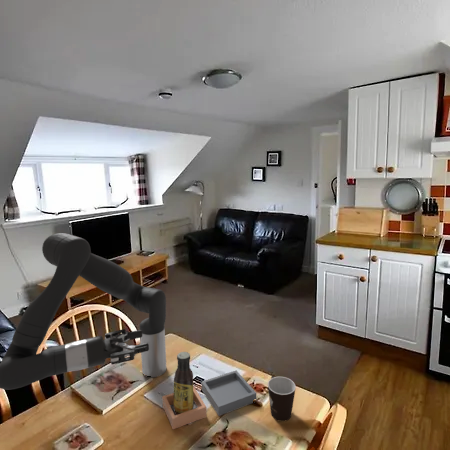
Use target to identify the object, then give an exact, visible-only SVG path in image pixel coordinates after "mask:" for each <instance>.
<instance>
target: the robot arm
mask: <svg viewBox="0 0 450 450" xmlns="http://www.w3.org/2000/svg"><path fill="white" fill-rule="evenodd" d="M91 248H92V247H91V246H90V243H89V242H88V241H87V240H86V239H85V238H82V237H79V236H76V235H74V234H69V233H65V232H64V233H63V232H59V233H53V234H51V235H49V236H48V237H46V238H45V240H44V241H43V243H42V248H41V251H42V254H43V257H44V259H45V260H46V261H47V263H49V264H51V265H52V266H55V267H56V269H55V272H54V274H53V276H52V278H51V280H50V282H49V283H47V284H48V285H47V286H46V287H45V288H44V289H43V290H42V291H41V293H39V294H38V296H36V297H35V298H34V299H33V300H32V301H31V302H30V304H29V305H28V306H27V308H26V309H25V311H24V312H23V314H22V316H21V318H20V320H19V321H18V325H17V326H16V328H15V330H14V333H13V336H12V339H11V342H10V345H9V346H8V348H7V350H6V352H5V354H4V356H3V357H2V359H1V361H0V389H1V390H6V391H8V390H17V389H20V388H23V387H26V386H29V385H32V384H33V383H36V382H39V381H41V380H43V379H47V378H48V377H53V376H57V375H61V374H64V373H69V372H77V371H81V370H85V369H89V368H93V367H98V366H102V365H104V364H105V363H106V360H107V359H110V364H111V365H116V364H122V363H125V362H131V361H134V360H135V356H136V355H137V354H140V355H141V372H143V373H142V374H145V375H147V376H151V377H150V378H157V377H160V376H162V375H163V374H165V373H166V371H167V352H166V349H167V348H166V331H165V325H166V319H167V318H166V317H167V309H166V308H167V299H166V298H167V297H166V293H165V292H164V291H163V290H162V289H159V288H155V287H148V286H143V285H141V284H138V283H136V282H135V281H134V279H133V276H132V275H131V273H130V272H129V271H128V270H127V269H125V268H123V267H122V266H121V265H119V264H117V263H115V262H114V261H112V260H109V259H107V258H104V257H102V256H99V255H96V254H94V253H92V251H91V250H92V249H91ZM79 276H80V277H81V278H82V279H84V280H85V281H86V282H88V283H90V284H91V285H93V286H94V287H96V288H97V289H99V290H100V291H102V292H105V293H107V294H108V295H110V296H113V297H115V298H118V299H119V300H123V301H125V302H126V303H127V304H128V305H130V306H132V308H134V309H135V310H137V311H138V312H142V313H147V314H149V315H148V317H146V318H145V319H143V320H141V322H140V323H139V329H137V330H134V331H133V330H132V331H128V330H126V328H122V329H119V330H114V331H110V332H106V333H104V337H103V336H102V335H97V336H93V337H88V338H84V339H80V340H74V341H71V342H69V343H66V344H61V345H56V346H51V347H48V348H45V349H44V350H42V351H41V352H38V350H39V348H40V347H41V345H42V344H43V342H44V340H45V338H46V335H47V334H48V331H49V329H50V327H51V325H52V323H53V320H54V318H55V316H56V314H57V312H58V310H59V308H60V306H61V305H62V304H63V301H64V300H65V298H66V297H67V295H68V293H69V292H70V291H71V289H72V287H73V286H74V284H75V283H76V281H77V279H79ZM136 339H140V343H139V344H134V345H129V344H128V343H127V342H128V341H131V340H136ZM37 352H38V353H37ZM145 375H144V376H145ZM147 376H146V377H147Z"/></svg>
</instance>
